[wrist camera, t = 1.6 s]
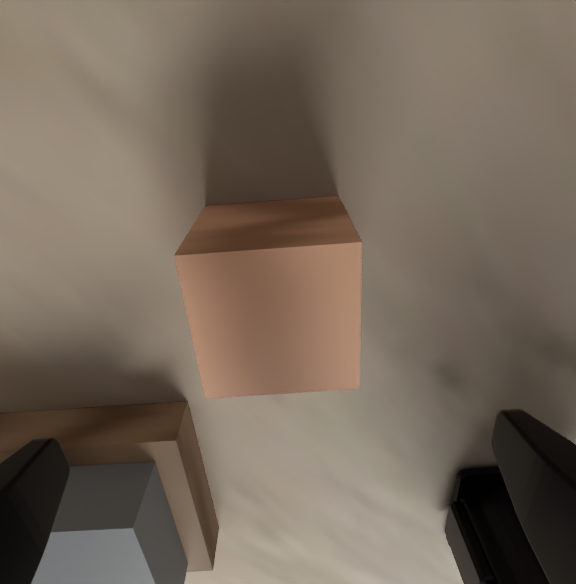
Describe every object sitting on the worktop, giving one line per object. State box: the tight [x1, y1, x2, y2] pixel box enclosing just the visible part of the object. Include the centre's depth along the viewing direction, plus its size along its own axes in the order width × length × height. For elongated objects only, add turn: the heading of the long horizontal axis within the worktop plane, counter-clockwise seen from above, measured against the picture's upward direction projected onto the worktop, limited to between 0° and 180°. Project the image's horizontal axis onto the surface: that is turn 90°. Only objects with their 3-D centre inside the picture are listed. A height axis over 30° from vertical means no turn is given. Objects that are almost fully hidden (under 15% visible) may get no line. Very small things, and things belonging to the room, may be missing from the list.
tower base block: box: [0, 401, 219, 572], centre depth 21 cm, size 10×10×3 cm
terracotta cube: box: [174, 196, 362, 399], centre depth 14 cm, size 5×5×5 cm
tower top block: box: [31, 462, 188, 584], centre depth 18 cm, size 8×8×3 cm
